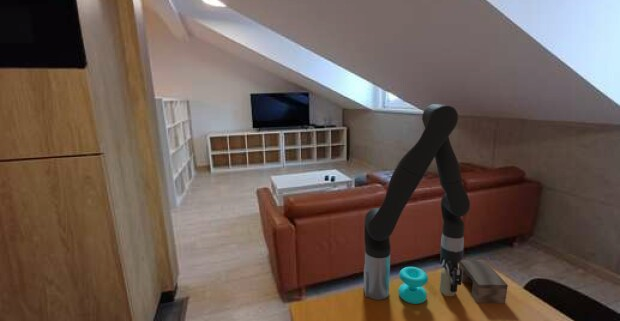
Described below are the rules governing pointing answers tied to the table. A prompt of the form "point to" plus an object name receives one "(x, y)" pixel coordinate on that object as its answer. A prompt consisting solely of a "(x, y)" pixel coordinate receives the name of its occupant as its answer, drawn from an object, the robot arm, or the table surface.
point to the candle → (445, 283)
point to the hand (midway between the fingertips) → (448, 284)
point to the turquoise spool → (413, 285)
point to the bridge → (483, 281)
